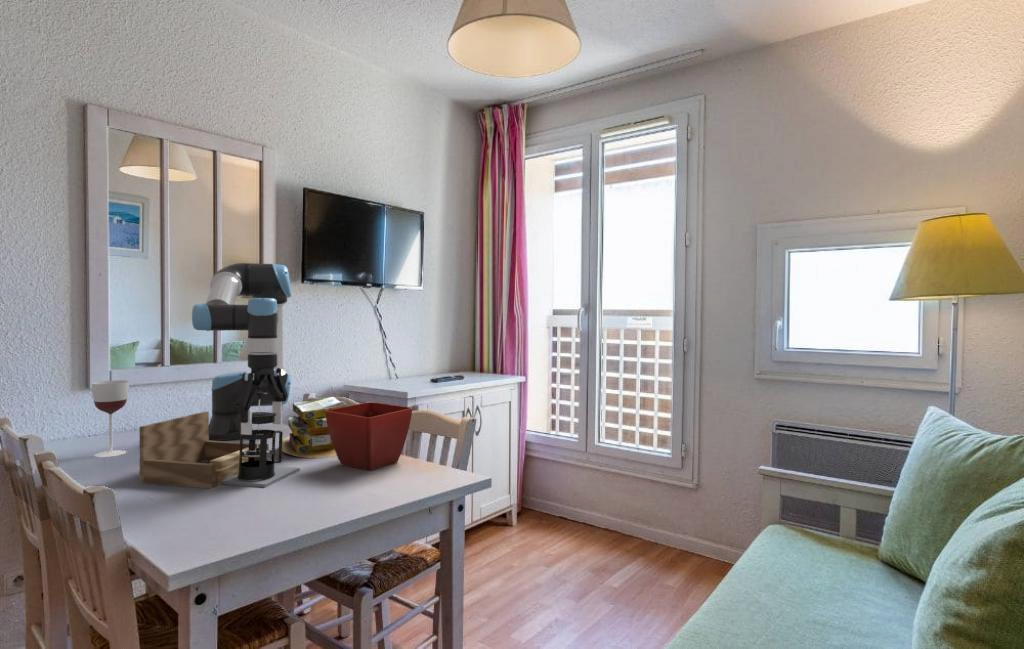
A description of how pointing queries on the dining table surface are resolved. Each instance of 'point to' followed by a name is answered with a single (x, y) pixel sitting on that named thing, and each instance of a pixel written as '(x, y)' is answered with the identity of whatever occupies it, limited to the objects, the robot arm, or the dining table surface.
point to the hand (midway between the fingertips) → (262, 429)
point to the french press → (262, 466)
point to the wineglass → (110, 405)
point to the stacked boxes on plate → (311, 429)
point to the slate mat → (279, 474)
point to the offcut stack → (227, 466)
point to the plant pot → (368, 433)
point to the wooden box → (182, 452)
